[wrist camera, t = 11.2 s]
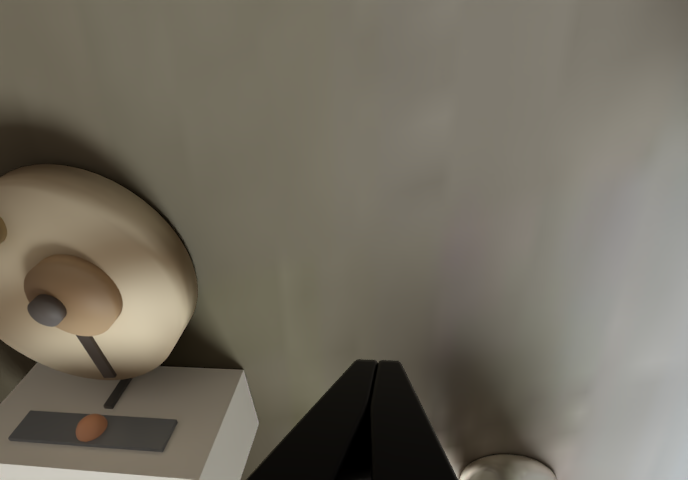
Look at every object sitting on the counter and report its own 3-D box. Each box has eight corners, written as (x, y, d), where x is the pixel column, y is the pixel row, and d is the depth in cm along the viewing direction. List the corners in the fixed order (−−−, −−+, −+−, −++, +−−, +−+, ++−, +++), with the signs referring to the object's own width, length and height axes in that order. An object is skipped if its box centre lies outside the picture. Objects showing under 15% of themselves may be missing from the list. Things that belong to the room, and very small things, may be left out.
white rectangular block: (240, 357, 29) (193, 467, 23) (259, 422, 32) (222, 534, 26) (31, 349, 31) (-59, 448, 25) (68, 411, 34) (-5, 511, 28)
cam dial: (242, 308, 26) (138, 527, 17) (98, 369, 31) (-48, 569, 21) (76, 119, 21) (-203, 275, 12) (-64, 225, 26) (-346, 399, 17)
